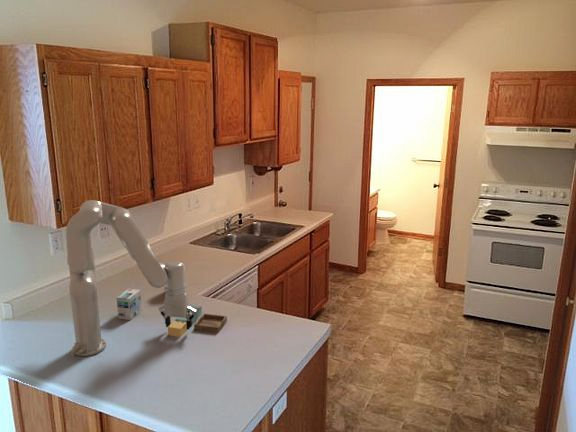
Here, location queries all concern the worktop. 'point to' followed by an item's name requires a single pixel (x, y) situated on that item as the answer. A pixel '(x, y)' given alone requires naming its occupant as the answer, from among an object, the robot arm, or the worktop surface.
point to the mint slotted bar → (199, 312)
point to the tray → (210, 323)
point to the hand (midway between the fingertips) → (178, 326)
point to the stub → (177, 328)
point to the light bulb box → (129, 304)
